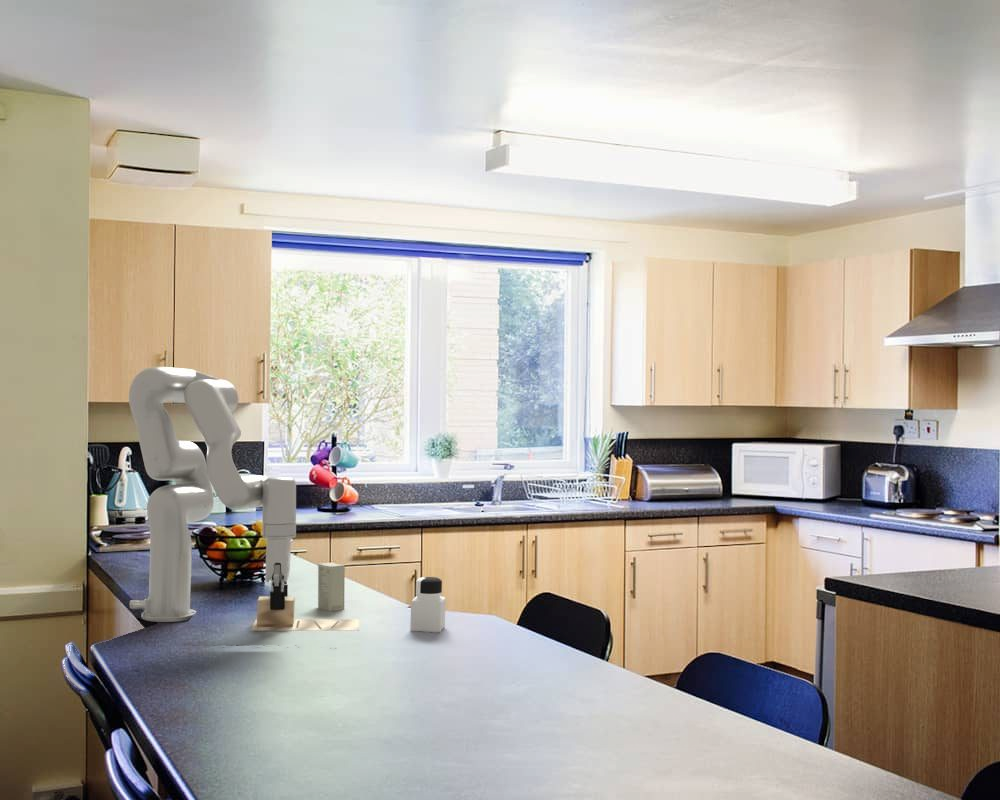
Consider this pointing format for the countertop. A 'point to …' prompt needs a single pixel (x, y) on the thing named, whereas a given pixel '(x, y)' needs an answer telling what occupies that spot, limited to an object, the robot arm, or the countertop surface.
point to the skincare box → (331, 586)
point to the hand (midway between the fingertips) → (279, 605)
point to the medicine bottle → (428, 606)
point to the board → (316, 625)
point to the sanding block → (275, 613)
